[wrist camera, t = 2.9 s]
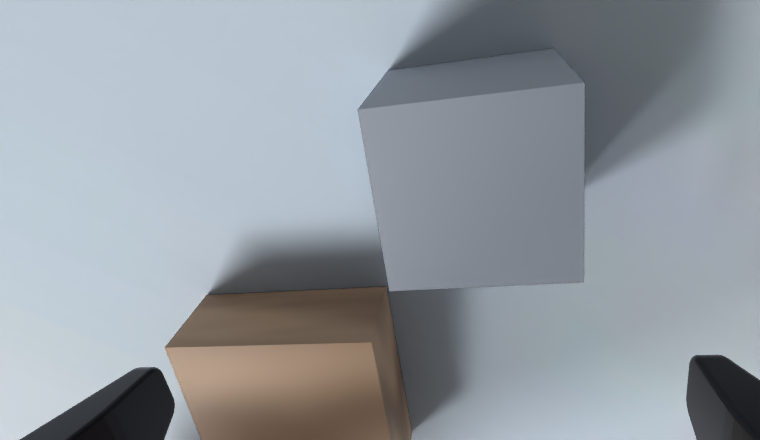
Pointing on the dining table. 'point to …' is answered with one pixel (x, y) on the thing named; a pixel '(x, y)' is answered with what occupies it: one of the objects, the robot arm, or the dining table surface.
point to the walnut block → (292, 366)
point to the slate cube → (478, 172)
